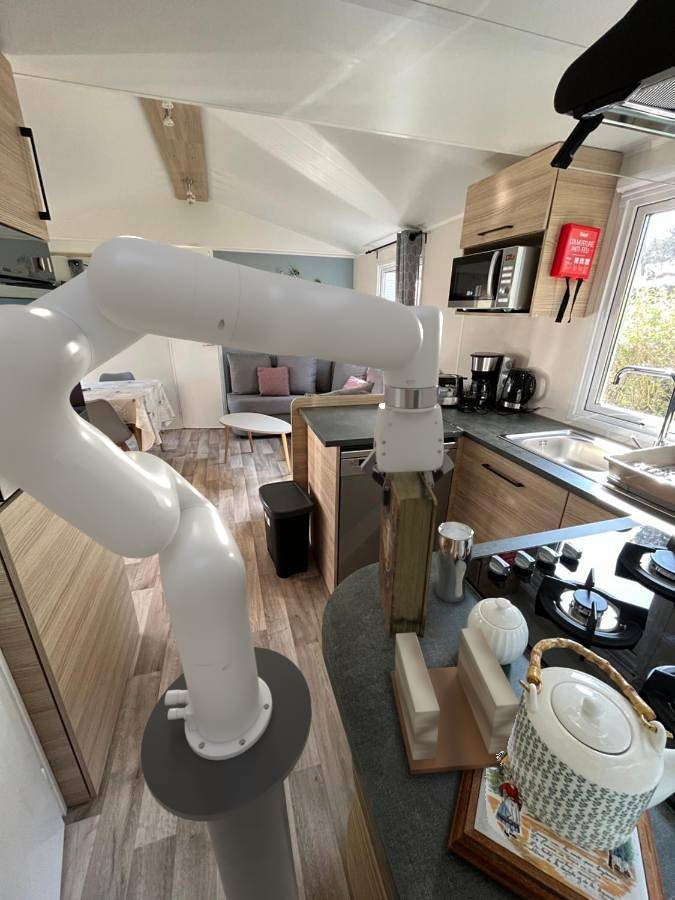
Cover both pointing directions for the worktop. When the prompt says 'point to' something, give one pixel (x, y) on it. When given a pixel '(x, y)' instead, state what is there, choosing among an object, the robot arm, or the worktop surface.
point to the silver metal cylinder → (453, 560)
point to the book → (407, 553)
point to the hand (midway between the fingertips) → (405, 507)
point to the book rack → (453, 706)
